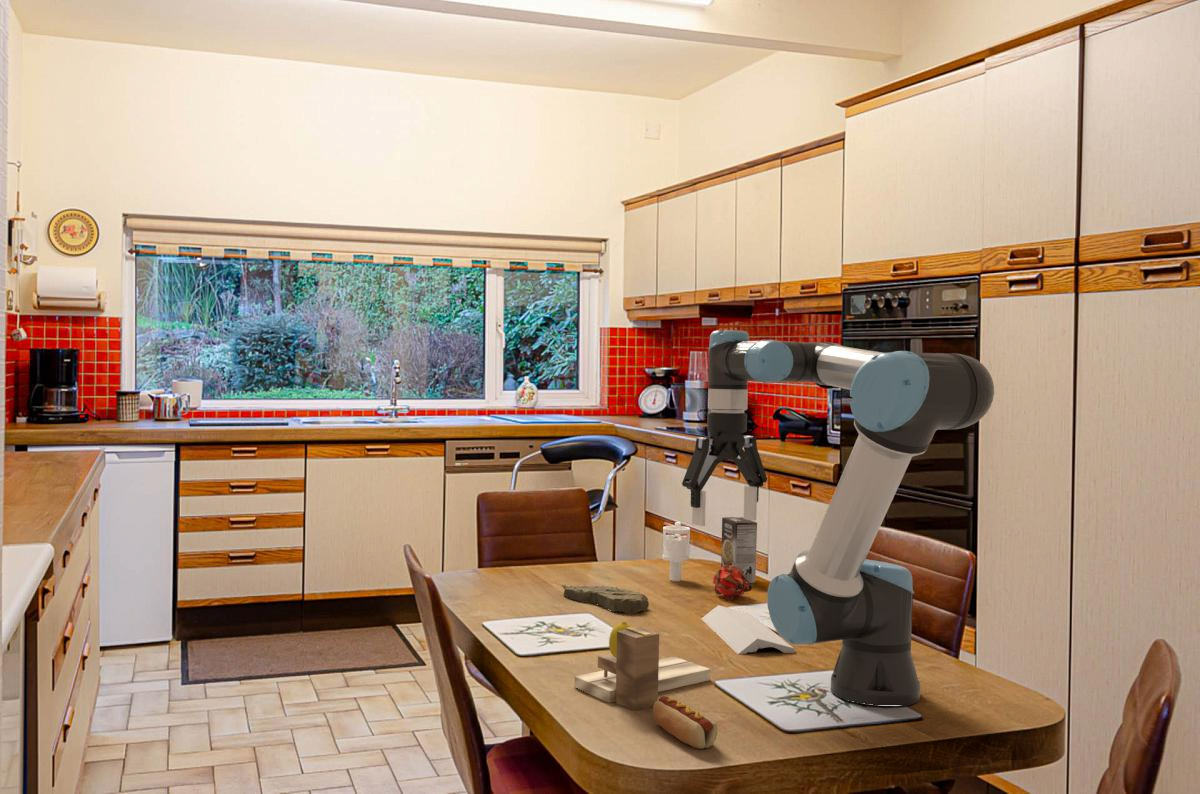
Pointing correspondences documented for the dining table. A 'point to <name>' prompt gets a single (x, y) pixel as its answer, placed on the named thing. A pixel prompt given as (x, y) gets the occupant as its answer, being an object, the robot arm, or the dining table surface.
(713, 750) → the dining table surface
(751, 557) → the coffee box
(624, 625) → the lemon
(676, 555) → the white stepped cylinder
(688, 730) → the food
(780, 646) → the crown molding
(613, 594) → the stone slab
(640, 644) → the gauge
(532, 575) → the dining table surface
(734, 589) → the dragon fruit
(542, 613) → the dining table surface
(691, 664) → the board
